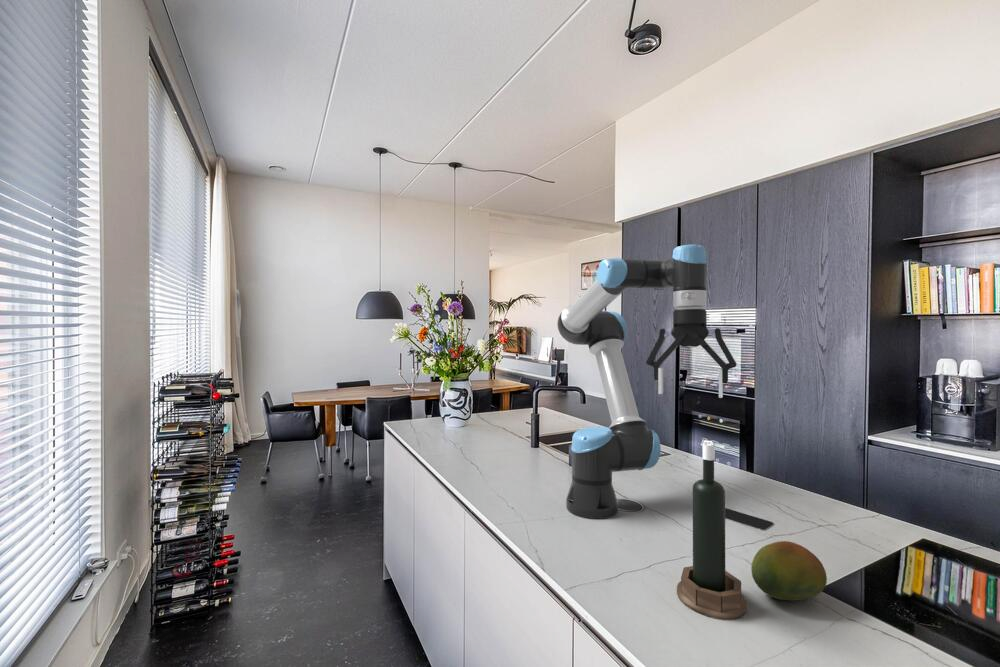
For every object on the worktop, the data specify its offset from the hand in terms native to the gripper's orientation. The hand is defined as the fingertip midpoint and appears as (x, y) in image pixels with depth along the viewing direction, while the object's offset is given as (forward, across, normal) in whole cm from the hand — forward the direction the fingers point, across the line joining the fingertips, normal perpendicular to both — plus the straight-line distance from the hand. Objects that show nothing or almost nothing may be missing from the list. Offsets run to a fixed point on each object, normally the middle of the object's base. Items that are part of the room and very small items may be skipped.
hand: (689, 395), depth 108 cm
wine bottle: (+36, +6, -22) cm, 43 cm away
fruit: (+37, +19, -14) cm, 44 cm away
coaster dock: (+37, +6, -22) cm, 43 cm away
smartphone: (+37, +10, +23) cm, 45 cm away
